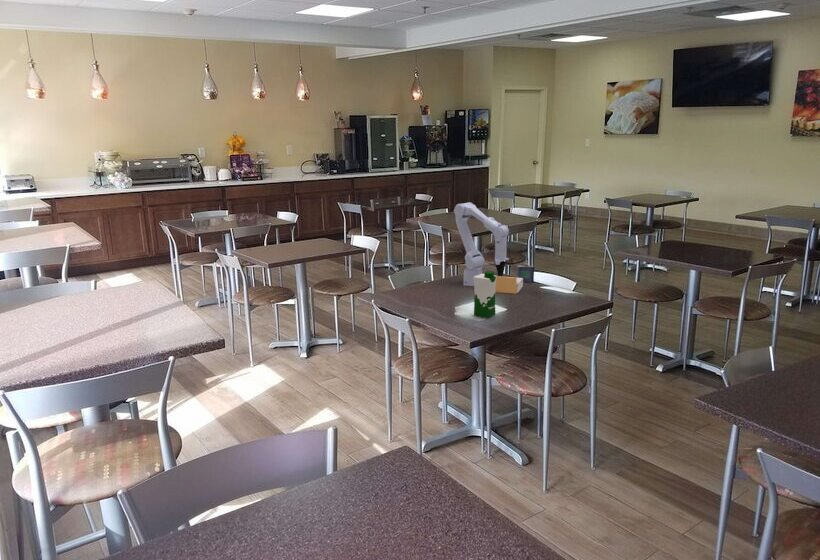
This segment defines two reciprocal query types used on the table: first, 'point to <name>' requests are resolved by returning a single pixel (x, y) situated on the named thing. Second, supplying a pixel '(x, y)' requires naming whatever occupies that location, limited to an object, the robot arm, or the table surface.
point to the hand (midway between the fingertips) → (500, 275)
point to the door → (506, 285)
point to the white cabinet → (518, 284)
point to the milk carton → (484, 294)
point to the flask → (526, 273)
